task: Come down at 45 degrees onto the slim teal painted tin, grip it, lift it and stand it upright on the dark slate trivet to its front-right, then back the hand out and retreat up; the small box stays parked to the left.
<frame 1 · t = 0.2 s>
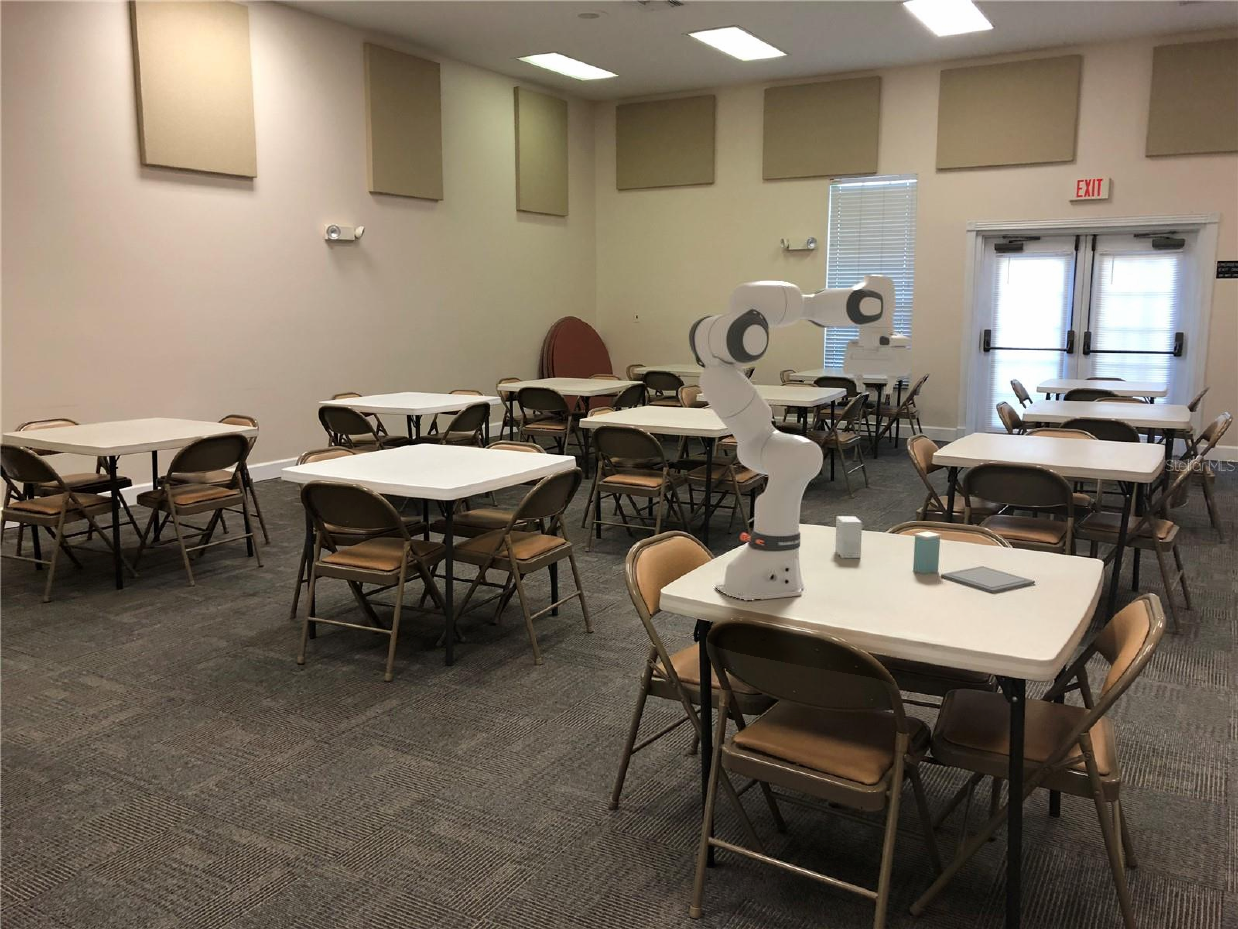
hand: (874, 392, 234), 48 cm above the table, tool pointing down, fingers open, 8 cm apart
teal tin: (925, 571, 240), on the table
slate trivet: (987, 580, 231), on the table
small box: (847, 555, 257), on the table
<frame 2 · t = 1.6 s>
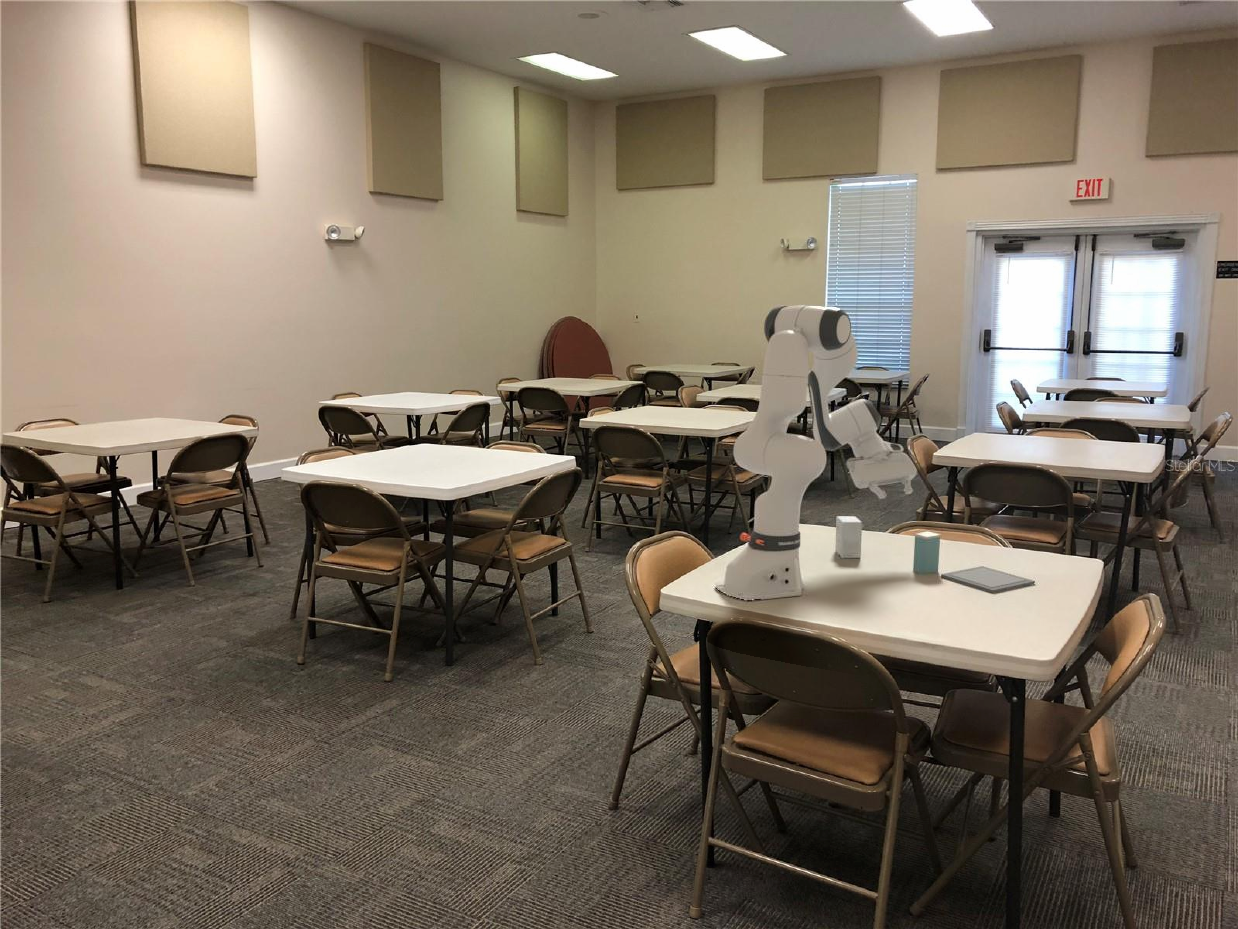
hand: (896, 495, 247), 19 cm above the table, tool tilted 45°, fingers open, 8 cm apart
nothing on the table moved.
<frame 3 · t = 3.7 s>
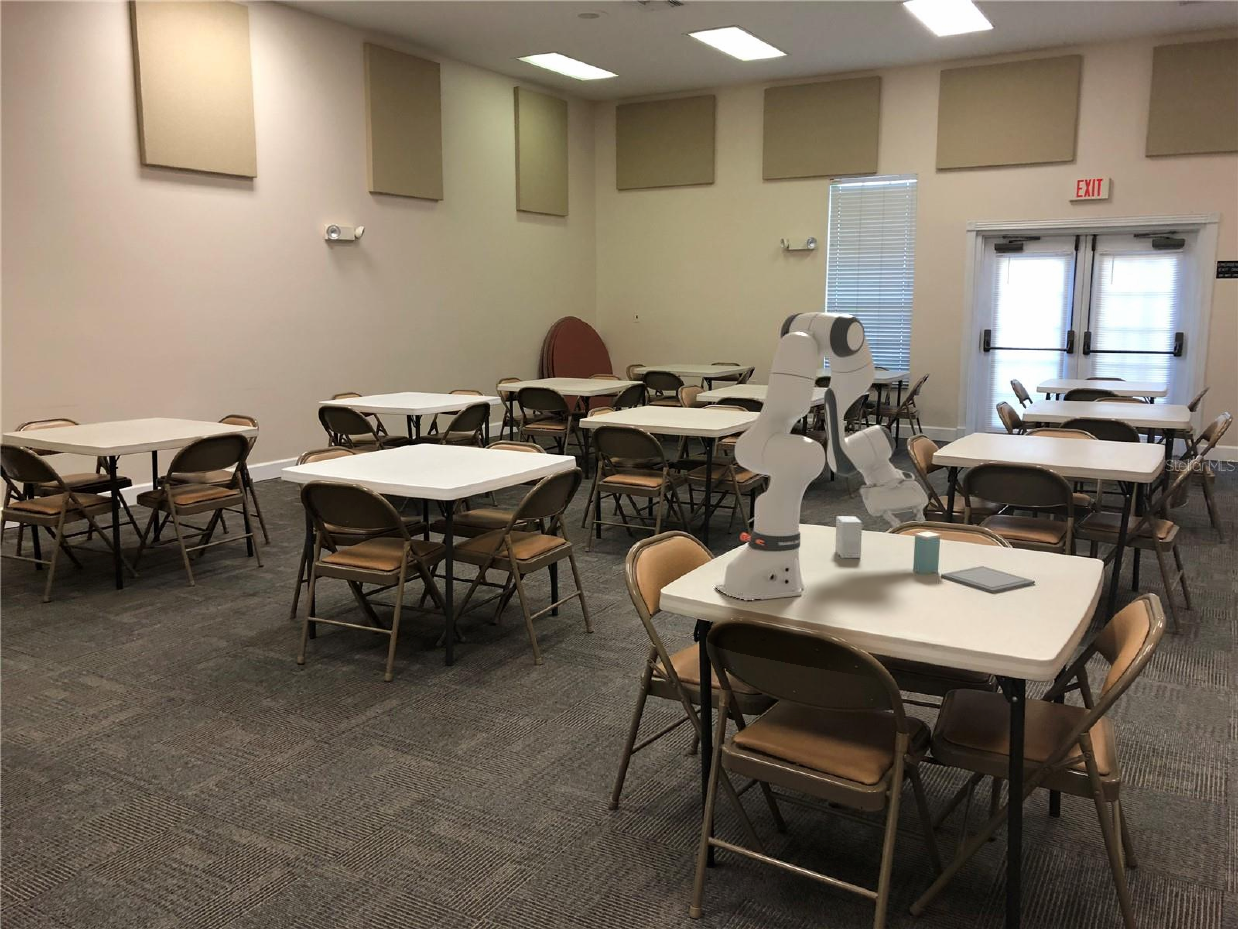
hand: (910, 523, 244), 12 cm above the table, tool tilted 45°, fingers open, 8 cm apart
nothing on the table moved.
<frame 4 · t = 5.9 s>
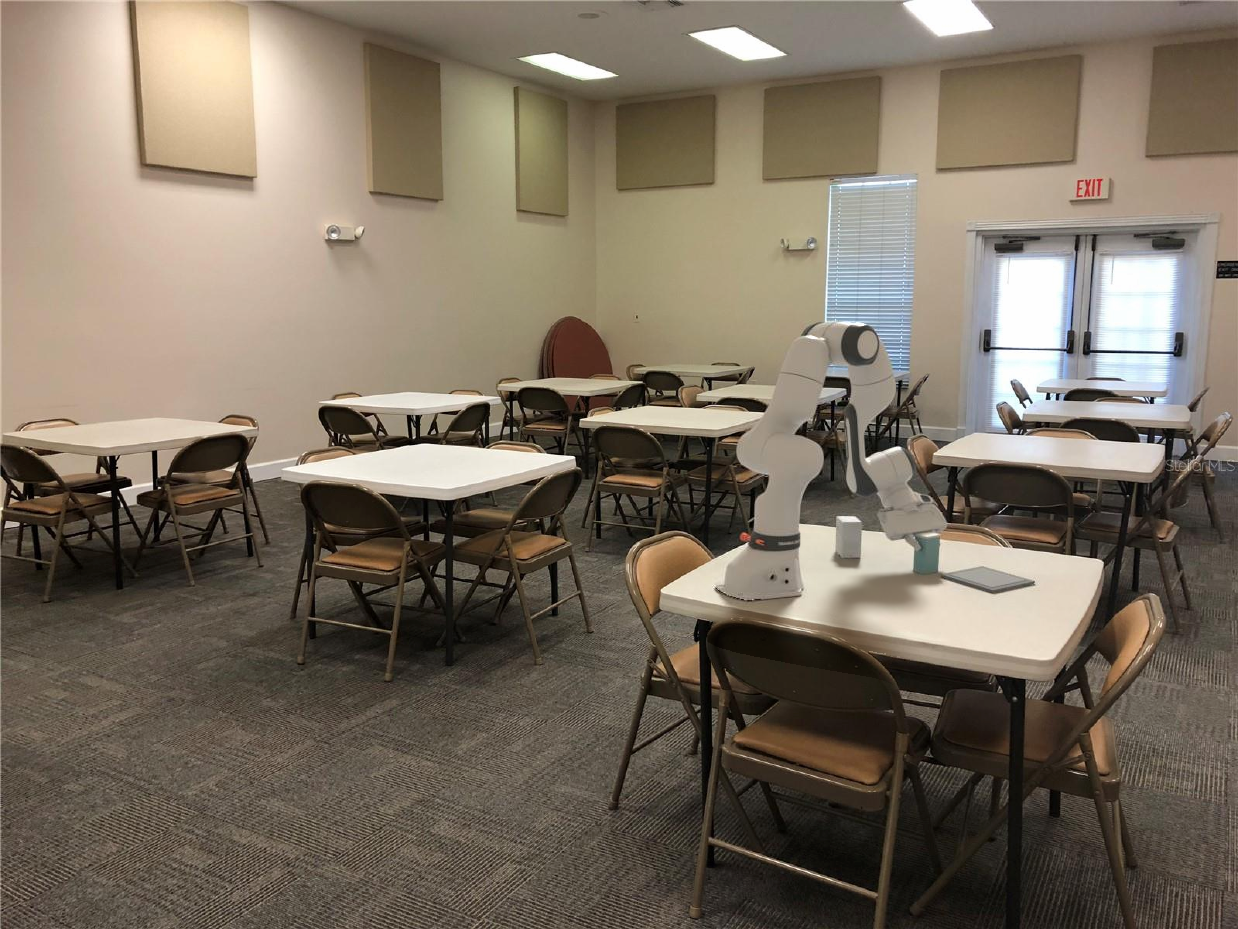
hand: (928, 548, 238), 6 cm above the table, tool tilted 45°, fingers closed on teal tin, 5 cm apart
teal tin: (925, 571, 240), on the table, touching gripper
everything else where it was.
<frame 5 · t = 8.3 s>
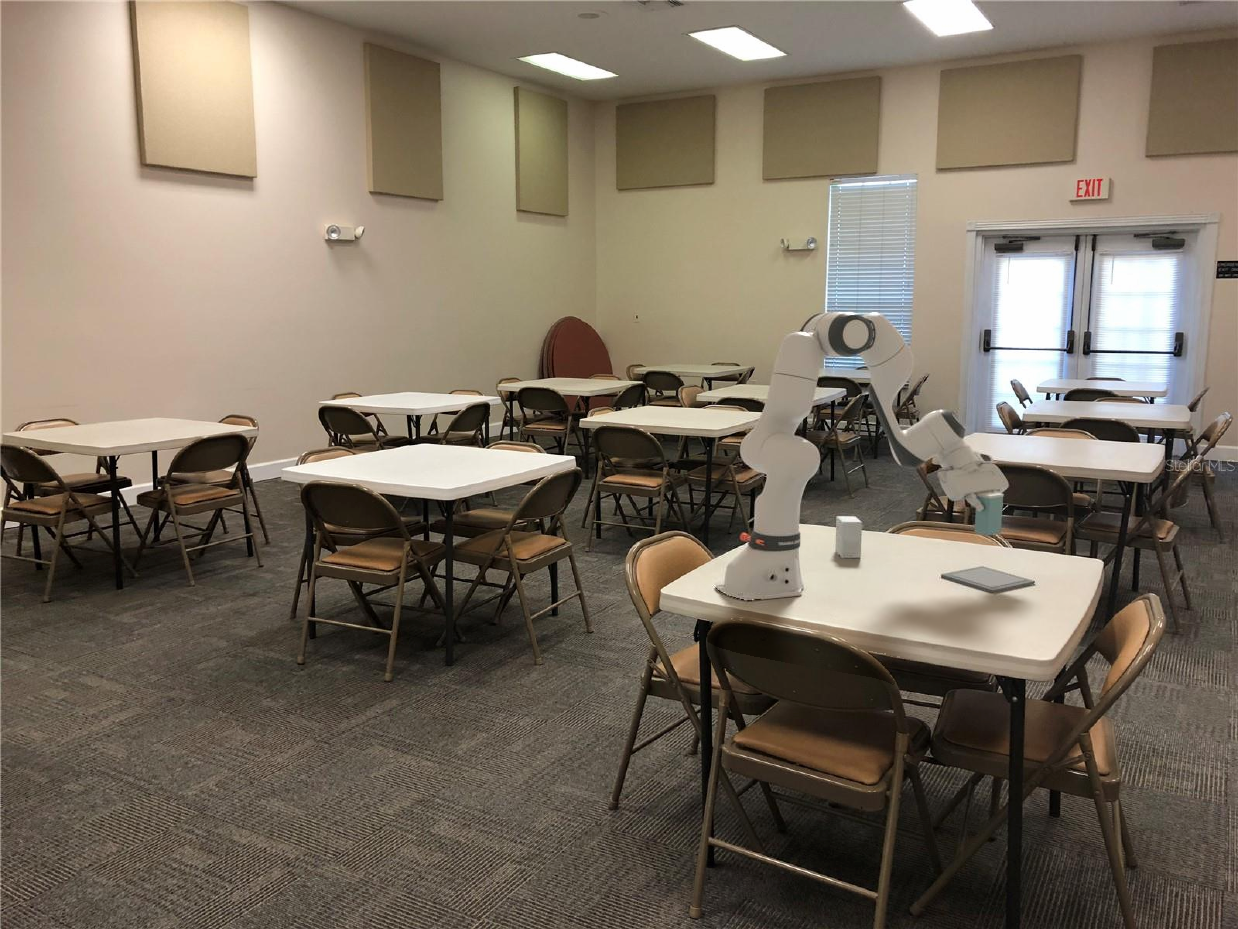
hand: (991, 508, 229), 19 cm above the table, tool tilted 45°, fingers closed on teal tin, 5 cm apart
teal tin: (987, 532, 230), point 12 cm above the table, touching gripper
everything else where it was.
when the fingers open (8 cm above the table, at t = 10.7 s): teal tin drops 1 cm, resting on slate trivet.
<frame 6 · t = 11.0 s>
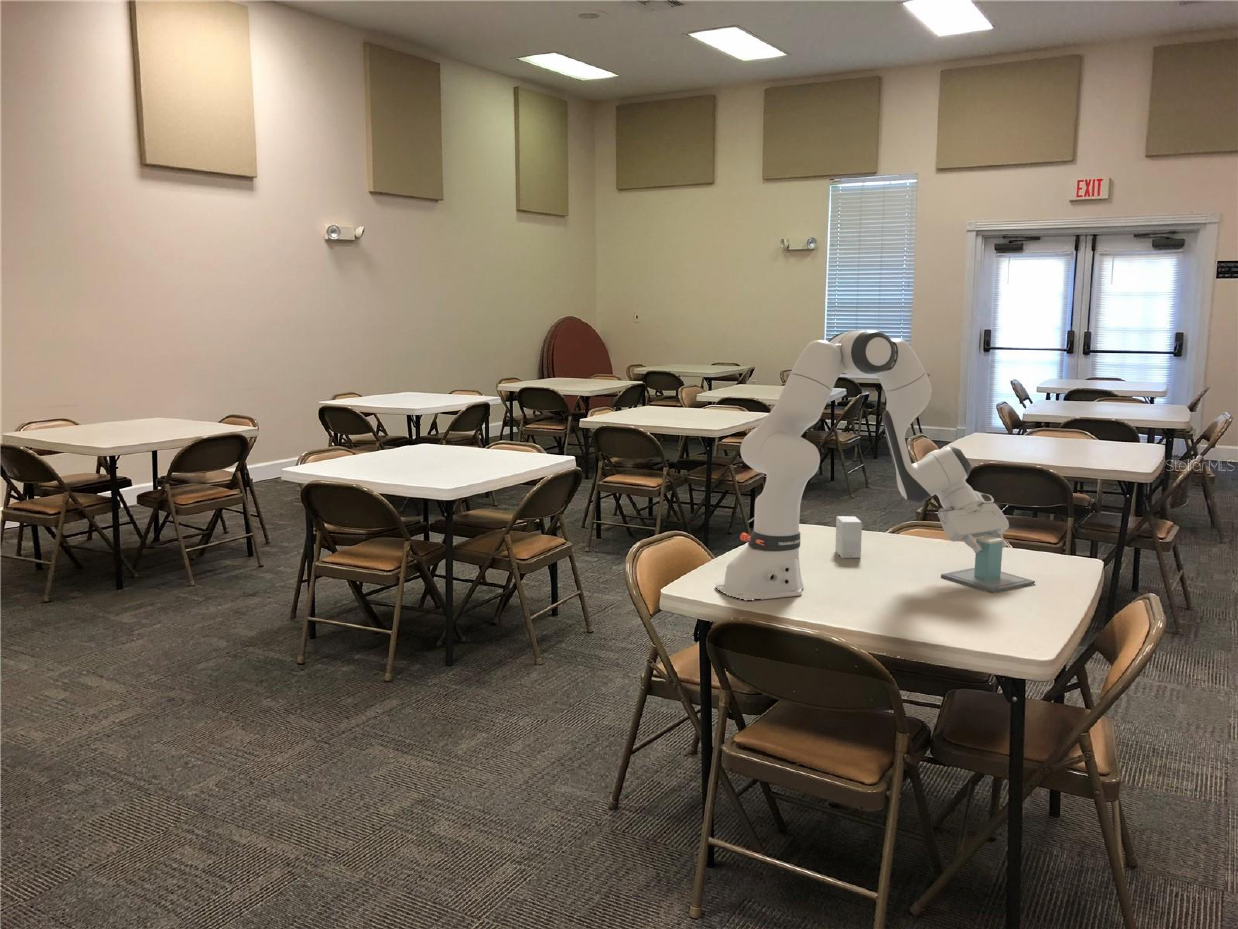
hand: (991, 549, 229), 8 cm above the table, tool tilted 45°, fingers open, 7 cm apart
teal tin: (987, 577, 231), point 1 cm above the table, touching slate trivet
everything else where it was.
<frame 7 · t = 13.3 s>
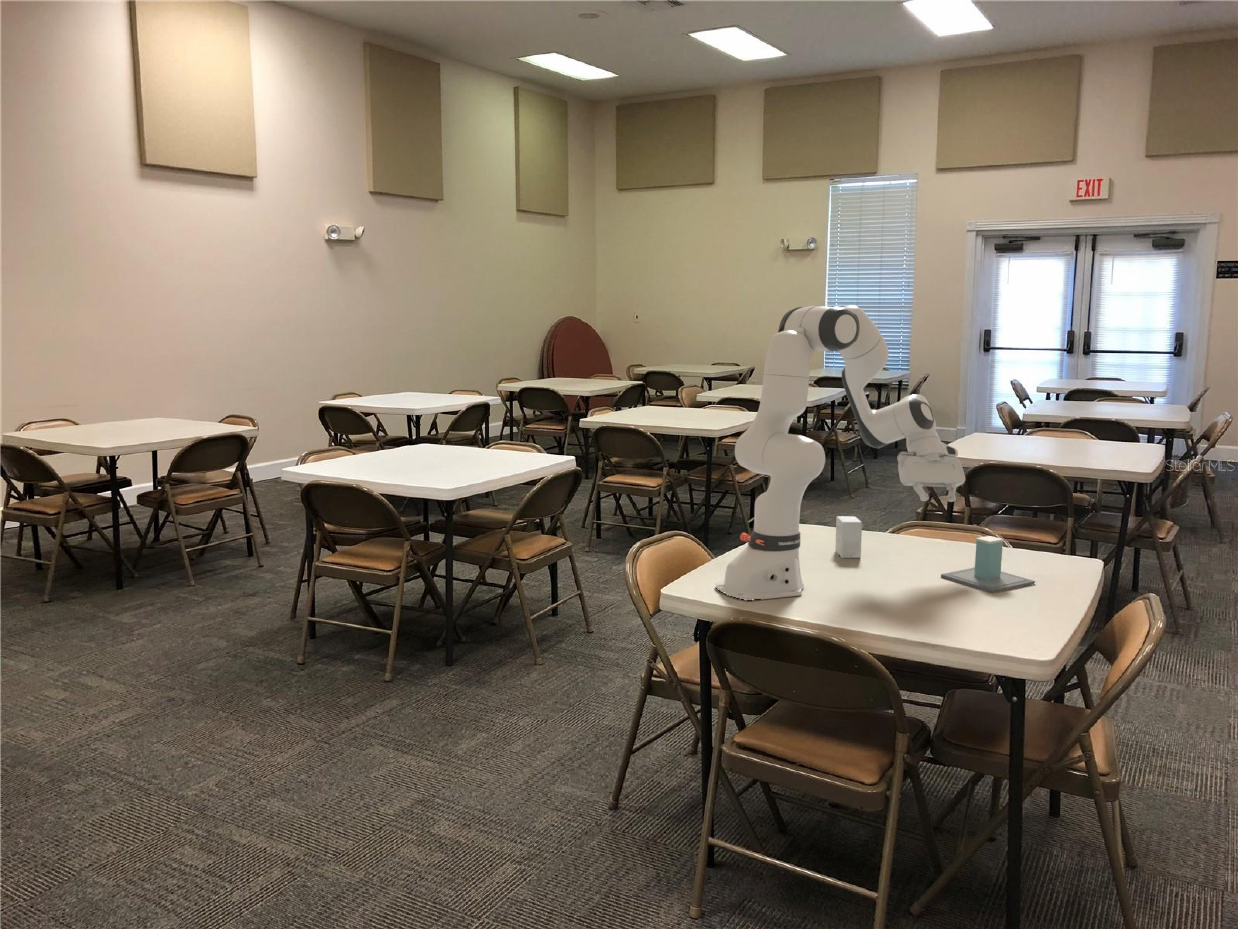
hand: (938, 500, 239), 19 cm above the table, tool tilted 30°, fingers open, 8 cm apart
nothing on the table moved.
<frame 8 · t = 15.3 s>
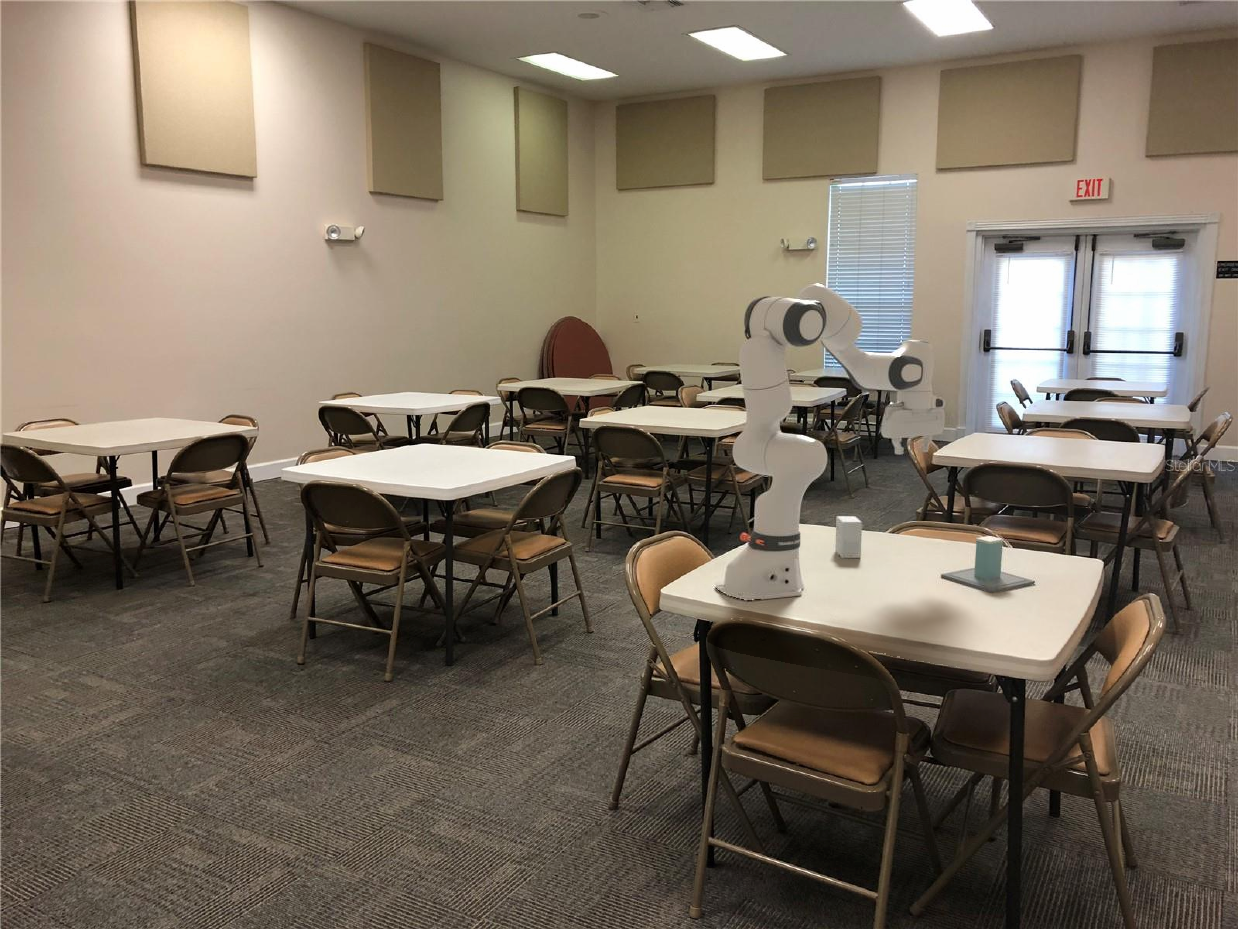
hand: (911, 452, 241), 31 cm above the table, tool pointing down, fingers open, 8 cm apart
nothing on the table moved.
at the end: teal tin inside the target area on the slate trivet (0.1 cm from its centre), point 0.9 cm above the slate trivet's base; teal tin tilted 0°; the gripper is holding nothing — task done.
